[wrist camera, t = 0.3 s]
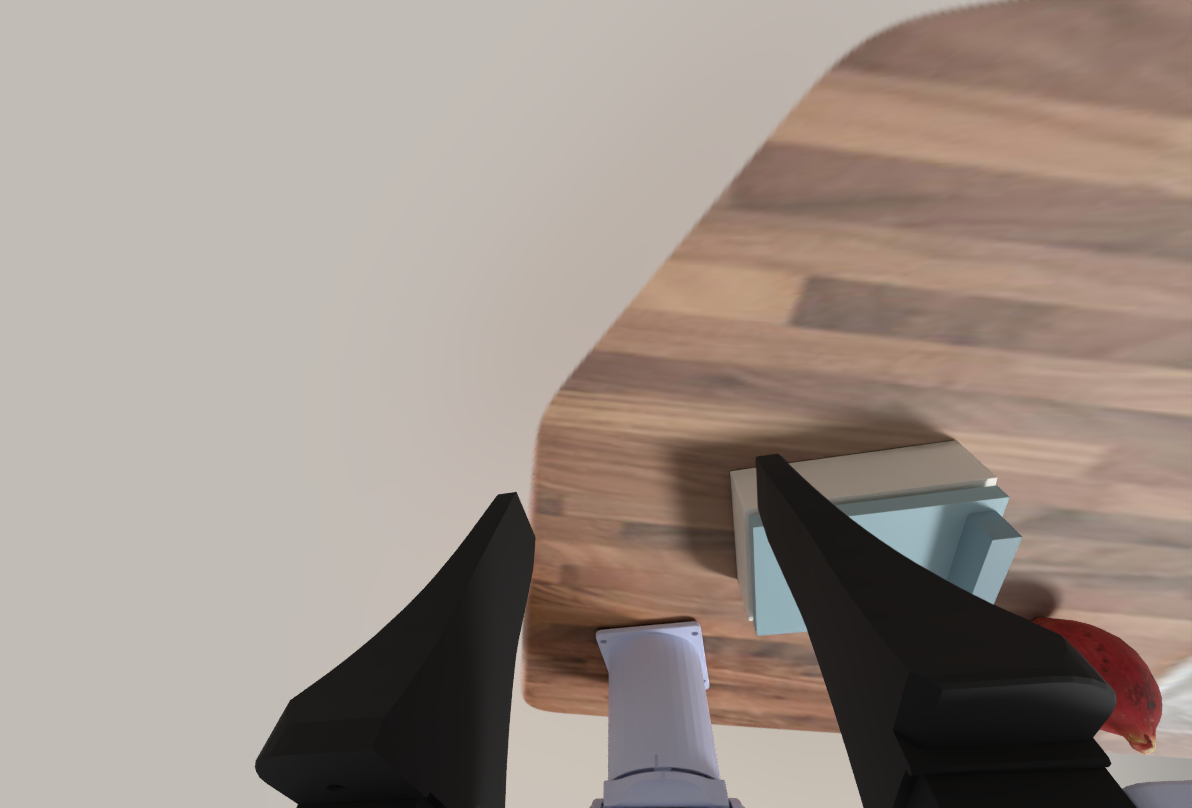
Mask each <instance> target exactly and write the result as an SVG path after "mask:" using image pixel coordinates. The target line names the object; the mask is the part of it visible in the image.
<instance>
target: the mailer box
mask: <svg viewBox="0 0 1192 808" xmlns="http://www.w3.org/2000/svg"><path fill="white" fill-rule="evenodd" d="M789 464H790V465H791V466H792V467H793V468H794V469H795V470H796V471H797V472H798V473H799V474H800V475H801V476H802V477H803V478H804V479H805V480H806V481H808V482H809V483H810V484H811V485H812V486H813V487H814V488H815V489H816V490H817V491H819V492H820V493H821V494H822V495H823V496H824V497H826V498H827V499H828V500H829V501H830V502H831V503H833V504H834V505H841V504H849V503H857V502H865V501H874V500H882V499H890V498H898V497H906V496H914V495H922V494H930V493H939V492H947V491H955V490H963V489H971V488H979V487H987V486H995V484H996V481H997V478H998V477H997V476H996V475H994V474H993V473H992V472H991V471H990V470H989V469H988V468H987V467H986V466H984V465H983V464H982V463H981V462H980V461H979V460H978V459H977V458H976V457H974V456H973V455H972V454H971V453H970V452H969V451H968V450H967V449H966V448H964V447H963V446H962V445H961V444H960V443H959V442H958V441H957V440H955V441H947V442H940V443H933V444H925V445H918V446H911V447H903V448H896V449H889V450H882V451H874V452H867V453H860V454H852V455H845V456H838V457H831V458H823V459H816V460H809V461H801V462H794V463H789ZM730 476H731V491H732V506H733V521H734V535H735V550H736V565H737V580H738V583H739V587H740V591H741V594H742V598H743V601H744V605H745V609H746V612H747V616H748V619H749V621H753V601H752V577H751V553H750V529H749V516H752V515H760V514H759V511H758V504H757V478H756V468H750V469H743V470H736V471H730Z"/></svg>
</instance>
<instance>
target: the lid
mask: <svg viewBox="0 0 1192 808" xmlns="http://www.w3.org/2000/svg"><path fill="white" fill-rule="evenodd" d="M1008 500H1009V496H1008V495H1007V494H1006V493H1004V492H1003V491H1002V490H1001V489H1000V488H999V487H998V486H997V485H996V486H987V487H979V488H971V489H963V490H955V491H947V492H939V493H930V494H922V495H914V496H906V497H898V498H890V499H882V500H874V501H865V502H857V503H849V504H841V505H835V506H836V507H837V508H839V509H840V510H841V511H842V512H844V513H845V514H846V515H847V516H849V517H850V518H851V519H853V520H854V521H855V522H856V523H858V524H859V525H860V526H862V527H863V528H864V529H866V530H867V531H869V532H870V533H871V534H873V535H874V536H875V537H877V538H878V539H880V540H881V541H883V542H884V543H886V544H887V545H889V546H890V547H892V548H893V549H895V550H896V551H898V552H899V553H901V554H902V555H904V556H906V557H907V558H909V559H910V560H912V561H914V562H915V563H917V564H919V565H921V566H922V567H924V568H926V569H928V570H929V571H931V572H933V573H935V574H936V575H938V576H940V577H942V578H943V579H945V580H947V581H949V582H950V583H952V584H954V585H956V586H958V587H960V588H962V589H964V590H966V591H968V592H970V593H972V594H974V595H976V596H977V597H979V598H981V599H983V600H985V601H987V602H989V603H991V604H993V605H994V602H995V600H996V598H997V595H998V593H999V591H1000V588H1001V586H1002V583H1003V581H1004V579H1005V576H1006V574H1007V572H1008V569H1009V567H1010V565H1011V562H1012V560H1013V558H1014V555H1015V553H1016V551H1017V548H1018V546H1019V544H1020V541H1021V539H1022V536H1021V535H1020V534H1019V533H1018V532H1017V531H1016V530H1015V529H1014V528H1013V527H1012V526H1011V525H1010V524H1009V523H1008V522H1007V521H1006V520H1005V519H1004V518H1003V517H1002V516H1003V513H1004V511H1005V508H1006V505H1007V503H1008ZM749 529H750V553H751V577H752V601H753V624H754V627H755V631H756V634H757V636H761V635H772V634H784V633H795V632H807V628H806V626H805V623H804V621H803V618H802V616H801V613H800V611H799V609H798V607H797V605H796V602H795V600H794V598H793V596H792V593H791V591H790V589H789V587H788V585H787V582H786V580H785V578H784V576H783V573H782V571H781V569H780V567H779V565H778V562H777V560H776V558H775V556H774V553H773V551H772V549H771V547H770V544H769V542H768V539H767V536H766V533H765V530H764V527H763V524H762V521H761V517H760V515H752V516H749Z"/></svg>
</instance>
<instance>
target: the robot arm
mask: <svg viewBox="0 0 1192 808" xmlns="http://www.w3.org/2000/svg"><path fill="white" fill-rule="evenodd" d="M756 478H757V504H758V511H759V514H760V517H761V521H762V524H763V527H764V530H765V533H766V536H767V539H768V542H769V544H770V547H771V549H772V551H773V553H774V556H775V558H776V560H777V562H778V565H779V567H780V569H781V571H782V573H783V576H784V578H785V580H786V582H787V585H788V587H789V589H790V591H791V593H792V596H793V598H794V600H795V602H796V605H797V607H798V609H799V611H800V613H801V616H802V618H803V621H804V623H805V626H806V628H807V631H808V634H809V637H810V640H811V643H812V646H813V649H814V652H815V654H816V657H817V660H818V663H819V666H820V669H821V672H822V675H823V678H824V681H825V684H826V687H827V691H828V694H829V697H830V700H831V703H832V706H833V709H834V712H835V715H836V718H837V722H838V725H839V728H840V731H841V734H842V737H843V741H844V744H845V747H846V750H847V753H848V757H849V760H850V764H851V767H852V770H853V773H854V777H855V780H856V784H857V787H858V790H859V794H860V797H861V800H862V804H863V807H864V808H1192V780H1187V781H1164V782H1163V781H1162V782H1145V783H1138V784H1134V785H1130V786H1127V787H1125V788H1123V789H1122V788H1121V787H1120V786H1119V785H1118V783H1117V782H1116V781H1115V780H1114V778H1113V777H1112V776H1111V774H1110V773H1109V772H1108V771H1107V769H1106V768H1105V767H1109V766H1110V765H1111V762H1110V759H1109V757H1108V756H1107V755H1106V753H1105V752H1104V751H1103V750H1102V748H1101V747H1100V746H1099V745H1098V743H1097V742H1096V741H1095V740H1094V738H1093V737H1094V736H1095V734H1096V733H1097V732H1098V731H1099V729H1100V728H1101V727H1102V726H1103V724H1104V723H1105V722H1106V721H1107V719H1108V718H1109V717H1110V716H1111V714H1112V712H1113V710H1114V708H1115V706H1116V702H1117V699H1116V693H1115V691H1114V690H1113V689H1112V687H1111V686H1110V685H1109V684H1108V683H1107V682H1106V681H1105V680H1104V679H1103V677H1102V676H1101V675H1100V674H1099V673H1098V672H1097V671H1096V669H1095V668H1094V667H1093V666H1092V665H1091V664H1090V663H1089V662H1088V661H1087V660H1086V658H1085V657H1084V656H1083V655H1082V654H1081V653H1080V652H1078V651H1077V650H1076V649H1075V648H1074V647H1073V646H1072V645H1071V644H1070V643H1069V642H1068V641H1067V640H1066V639H1065V638H1064V637H1063V636H1062V635H1060V634H1058V633H1056V632H1053V631H1051V630H1049V629H1047V628H1044V627H1042V626H1040V625H1038V624H1035V623H1033V622H1031V621H1029V620H1026V619H1024V618H1022V617H1020V616H1017V615H1015V614H1013V613H1011V612H1008V611H1006V610H1004V609H1002V608H1000V607H998V606H996V605H993V604H991V603H989V602H987V601H985V600H983V599H981V598H979V597H977V596H976V595H974V594H972V593H970V592H968V591H966V590H964V589H962V588H960V587H958V586H956V585H954V584H952V583H950V582H949V581H947V580H945V579H943V578H942V577H940V576H938V575H936V574H935V573H933V572H931V571H929V570H928V569H926V568H924V567H922V566H921V565H919V564H917V563H915V562H914V561H912V560H910V559H909V558H907V557H906V556H904V555H902V554H901V553H899V552H898V551H896V550H895V549H893V548H892V547H890V546H889V545H887V544H886V543H884V542H883V541H881V540H880V539H878V538H877V537H875V536H874V535H873V534H871V533H870V532H869V531H867V530H866V529H864V528H863V527H862V526H860V525H859V524H858V523H856V522H855V521H854V520H853V519H851V518H850V517H849V516H847V515H846V514H845V513H844V512H842V511H841V510H840V509H839V508H837V507H836V506H835V505H834V504H833V503H831V502H830V501H829V500H828V499H827V498H826V497H824V496H823V495H822V494H821V493H820V492H819V491H817V490H816V489H815V488H814V487H813V486H812V485H811V484H810V483H809V482H808V481H806V480H805V479H804V478H803V477H802V476H801V475H800V474H799V473H798V472H797V471H796V470H795V469H794V468H793V467H792V466H791V465H790V464H789V463H788V462H787V461H786V460H785V459H784V458H783V457H782V456H780V455H779V454H772V455H765V456H758V457H756ZM534 552H535V535H534V533H533V530H532V528H531V525H530V523H529V521H528V518H527V516H526V514H525V511H524V509H523V506H522V504H521V502H520V500H519V497H518V494H517V492H513V493H505V494H499V495H497V496H496V498H495V499H494V501H493V502H492V503H491V505H490V506H489V507H488V509H487V510H486V511H485V513H484V514H483V516H482V517H481V518H480V520H479V521H478V522H477V524H476V525H475V526H474V528H473V529H472V530H471V532H470V533H469V535H468V536H467V537H466V538H465V540H464V541H463V542H462V544H461V545H460V546H459V547H458V549H457V550H456V551H455V552H454V554H453V555H452V556H451V557H450V559H449V560H448V561H447V562H446V563H445V565H444V566H443V567H442V568H441V569H440V571H439V572H438V573H437V574H436V575H435V577H434V578H433V579H432V580H431V581H430V582H429V583H428V584H427V586H426V587H425V588H424V589H423V590H422V591H421V592H420V593H419V594H418V595H417V596H416V597H415V598H414V599H413V600H412V601H411V602H410V603H409V604H408V605H407V606H406V607H405V608H404V609H403V610H402V611H401V612H400V613H399V614H398V615H397V616H396V617H395V618H394V619H392V620H391V621H390V622H389V623H388V624H387V625H386V626H385V627H384V628H383V629H382V630H380V631H379V632H378V633H377V634H376V635H375V636H374V637H373V638H372V639H370V640H369V641H368V642H367V643H366V644H364V645H363V646H362V647H361V648H360V649H359V650H357V651H356V652H355V653H353V654H352V655H351V656H350V657H348V658H347V659H346V660H345V661H343V662H342V663H341V664H339V665H338V666H337V667H336V668H334V669H333V670H332V671H330V672H329V673H328V674H326V675H325V676H323V677H322V678H321V679H319V680H318V681H316V682H315V683H314V684H312V685H311V686H310V687H308V688H307V689H305V690H304V691H303V692H301V693H300V694H298V695H297V696H296V697H294V698H293V699H291V700H290V702H289V703H288V705H287V707H286V708H285V710H284V712H283V714H282V716H281V717H280V719H279V721H278V723H277V724H276V726H275V728H274V730H273V731H272V733H271V735H270V737H269V738H268V740H267V742H266V744H265V746H264V747H263V749H262V751H261V752H260V754H259V756H258V758H257V760H256V763H255V769H256V772H257V774H258V775H259V777H260V778H261V779H262V780H263V781H264V782H266V783H267V784H268V785H270V786H272V787H273V788H274V789H276V790H277V791H279V792H280V793H282V794H283V795H285V796H287V797H288V798H290V799H291V800H293V801H294V802H296V803H297V804H298V805H297V808H505V794H506V770H507V754H508V738H509V723H510V711H511V700H512V688H513V679H514V669H515V660H516V653H517V647H518V641H519V636H520V631H521V626H522V621H523V617H524V612H525V607H526V602H527V597H528V592H529V587H530V582H531V577H532V572H533V564H534ZM596 640H597V642H598V645H599V648H600V650H601V653H602V656H603V659H604V661H605V664H606V667H607V669H608V672H609V724H608V726H609V730H608V734H609V735H608V736H609V737H608V742H609V743H608V781H604V800H603V799H595V800H594V801H593V802H592V805H591V807H590V808H745V807H744V806H743V805H742V804H741V802H740V801H739V800H738V799H737V798H729V799H728V796H727V790H726V784H725V781H724V780H720V774H719V769H718V762H717V757H716V751H715V744H714V738H713V734H712V733H713V732H712V727H711V721H710V715H709V709H708V703H707V697H706V691H705V690H706V689H708V688H709V680H708V673H707V667H706V660H705V653H704V647H703V640H702V633H701V627H700V624H699V623H698V622H696V621H690V622H679V623H669V624H658V625H647V626H636V627H626V628H615V629H604V630H599V631H597V632H596Z"/></svg>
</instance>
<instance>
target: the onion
mask: <svg viewBox="0 0 1192 808" xmlns="http://www.w3.org/2000/svg"><path fill="white" fill-rule="evenodd" d="M1032 622H1033V623H1035V624H1038V625H1040V626H1042V627H1044V628H1047V629H1049V630H1051V631H1053V632H1056V633H1058V634H1060V635H1062V636H1063V637H1064V638H1065V639H1066V640H1067V641H1068V642H1069V643H1070V644H1071V645H1072V646H1073V647H1074V648H1075V649H1076V650H1077V651H1078V652H1080V653H1081V654H1082V655H1083V656H1084V657H1085V658H1086V660H1087V661H1088V662H1089V663H1090V664H1091V665H1092V666H1093V667H1094V668H1095V669H1096V671H1097V672H1098V673H1099V674H1100V675H1101V676H1102V677H1103V679H1104V680H1105V681H1106V682H1107V683H1108V684H1109V685H1110V686H1111V687H1112V689H1113V690H1114V691H1115V693H1116V699H1117V702H1116V706H1115V708H1114V710H1113V712H1112V714H1111V716H1110V717H1109V718H1108V719H1107V721H1106V722H1105V723H1104V724H1103V726H1102V727H1101V728H1100V730H1103V731H1106V732H1110V733H1114V734H1117V735H1120V736H1123V737H1124V738H1125V739H1126V740H1127V741H1128V742H1129V743H1130V745H1131V747H1132V748H1133V749H1135V750H1137V751H1139V752H1141V753H1143V754H1146V753H1152V752H1153V751H1154V750H1155V747H1156V728H1157V725H1158V723H1159V721H1160V718H1161V715H1162V697H1161V693H1160V690H1159V687H1158V685H1157V683H1156V681H1155V679H1154V677H1153V676H1152V674H1151V672H1150V670H1149V668H1148V666H1147V665H1146V663H1145V662H1144V661H1143V660H1142V658H1141V657H1140V656H1139V654H1138V653H1137V652H1136V651H1135V650H1134V649H1133V648H1131V647H1130V646H1129V645H1128V644H1126V643H1125V642H1124V641H1123V640H1122V639H1120V638H1119V637H1117V636H1115V635H1113V634H1111V633H1109V632H1106V631H1104V630H1102V629H1100V628H1098V627H1095V626H1092V625H1090V624H1086V623H1082V622H1078V621H1073V620H1064V619H1054V618H1046V617H1039V618H1035V619H1034V620H1033V621H1032Z"/></svg>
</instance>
